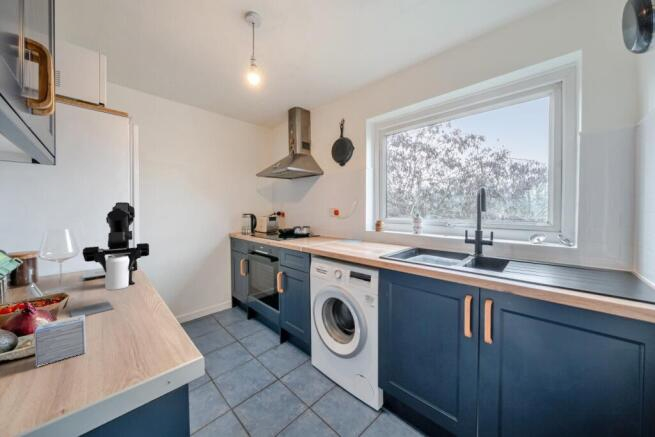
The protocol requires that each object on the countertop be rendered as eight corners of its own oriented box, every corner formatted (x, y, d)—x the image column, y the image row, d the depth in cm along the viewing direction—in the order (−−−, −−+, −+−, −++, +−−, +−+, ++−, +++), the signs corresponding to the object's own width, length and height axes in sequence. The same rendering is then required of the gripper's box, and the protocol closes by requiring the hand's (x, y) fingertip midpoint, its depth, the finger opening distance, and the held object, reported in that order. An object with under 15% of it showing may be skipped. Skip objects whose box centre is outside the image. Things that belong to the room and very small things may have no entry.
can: (132, 286, 89) (134, 255, 89) (114, 291, 83) (116, 257, 83) (118, 284, 90) (119, 253, 90) (99, 289, 84) (101, 256, 84)
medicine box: (86, 346, 61) (85, 313, 61) (85, 353, 58) (84, 319, 58) (39, 359, 56) (37, 324, 55) (35, 369, 52) (33, 331, 52)
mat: (69, 310, 82) (69, 309, 82) (108, 302, 90) (108, 301, 90) (72, 319, 76) (72, 318, 76) (113, 309, 84) (113, 308, 83)
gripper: (82, 225, 83) (76, 261, 75) (148, 223, 95) (149, 254, 86) (87, 244, 90) (82, 279, 82) (148, 240, 101) (149, 270, 93)
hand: (117, 270), depth 86 cm, fingers closed on can, 6 cm apart
